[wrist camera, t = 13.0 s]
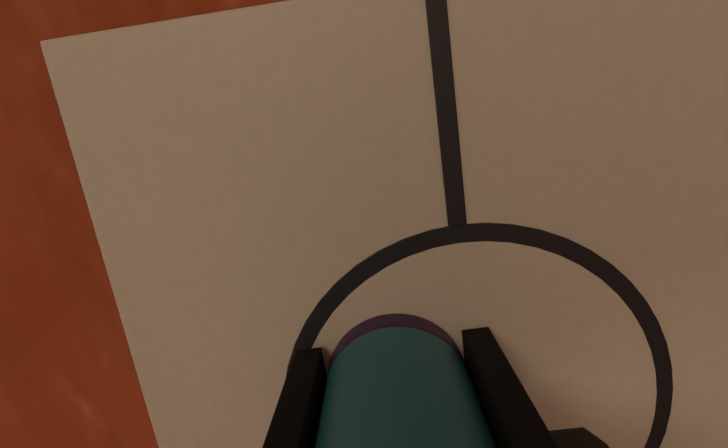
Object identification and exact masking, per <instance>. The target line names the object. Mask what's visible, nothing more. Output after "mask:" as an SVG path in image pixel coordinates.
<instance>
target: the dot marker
mask: <svg viewBox="0 0 728 448" xmlns="http://www.w3.org/2000/svg"><path fill="white" fill-rule="evenodd" d="M314 448H498V446H497V443H496V441H495V438H494V436H493V433H492V431H491V428H490V426H489V423H488V421H487V418H486V416H485V413H484V411H483V408H482V405H481V403H480V400H479V398H478V395H477V393H476V390H475V388H474V385H473V383H472V380H471V378H470V375H469V373H468V370H467V368H466V365H465V362H464V360H463V357H462V355H461V352H460V350H459V348H458V346H457V345H456V343H455V342H454V340H453V339H452V338H451V337H450V336H449V335H448V334H447V332H445V331H444V330H443V329H442V328H440V327H439V326H437V325H436V324H434V323H433V322H431V321H429V320H426V319H424V318H421V317H418V316H415V315H409V314H399V313H395V314H385V315H379V316H376V317H373V318H370V319H367V320H365V321H363V322H361V323H359V324H358V325H356V326H355V327H353V328H352V329H351V330H350V331H348V332H347V333H346V334H345V335H344V336H343V337H342V339H341V340H340V341H339V343H338V344H337V346H336V347H335V349H334V351H333V353H332V356H331V359H330V363H329V368H328V374H327V379H326V385H325V391H324V396H323V402H322V407H321V413H320V419H319V424H318V430H317V435H316V441H315V447H314Z"/></svg>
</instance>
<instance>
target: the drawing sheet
mask: <svg viewBox="0 0 728 448" xmlns="http://www.w3.org/2000/svg"><path fill="white" fill-rule="evenodd" d="M40 45H41V48H42V52H43V55H44V59H45V62H46V66H47V69H48V72H49V76H50V79H51V83H52V86H53V89H54V93H55V96H56V100H57V103H58V106H59V110H60V113H61V117H62V120H63V123H64V127H65V130H66V134H67V137H68V140H69V144H70V147H71V151H72V154H73V158H74V161H75V164H76V168H77V171H78V175H79V178H80V181H81V185H82V188H83V192H84V195H85V198H86V202H87V205H88V209H89V212H90V215H91V219H92V222H93V226H94V229H95V232H96V236H97V239H98V243H99V246H100V249H101V253H102V256H103V260H104V263H105V267H106V270H107V273H108V277H109V280H110V284H111V287H112V290H113V294H114V297H115V301H116V304H117V307H118V311H119V314H120V318H121V321H122V324H123V328H124V331H125V335H126V338H127V341H128V345H129V348H130V352H131V355H132V359H133V362H134V365H135V369H136V372H137V376H138V379H139V382H140V386H141V389H142V393H143V396H144V399H145V403H146V406H147V410H148V413H149V416H150V420H151V423H152V427H153V430H154V433H155V437H156V440H157V444H158V447H159V448H262V447H263V444H264V441H265V438H266V435H267V432H268V429H269V426H270V423H271V420H272V417H273V415H274V412H275V409H276V406H277V403H278V400H279V397H280V394H281V391H282V388H283V385H284V382H285V379H286V376H287V374H288V371H289V368H290V365H291V362H292V359H293V356H294V353H295V350H303V349H311V348H319V347H321V348H322V354H323V359H324V364H325V370H326V375H327V374H328V368H329V363H330V359H331V356H332V353H333V351H334V349H335V347H336V346H337V344H338V343H339V341H340V340H341V339H342V337H343V336H344V335H345V334H346V333H347V332H348V331H350V330H351V329H352V328H353V327H355V326H356V325H358V324H359V323H361V322H363V321H365V320H367V319H370V318H373V317H376V316H379V315H385V314H395V313H399V314H409V315H415V316H418V317H421V318H424V319H426V320H429V321H431V322H433V323H434V324H436V325H437V326H439V327H440V328H442V329H443V330H444V331H445V332H447V334H448V335H449V336H450V337H451V338H452V339H453V340H454V342H455V343H456V345H457V346H458V348H459V350H460V352H461V355H462V357H463V360H464V351H463V341H462V331H461V330H467V329H475V328H484V327H489V329H490V330H491V332H492V334H493V336H494V337H495V339H496V341H497V342H498V344H499V346H500V348H501V349H502V351H503V353H504V354H505V356H506V358H507V360H508V361H509V363H510V365H511V367H512V368H513V370H514V372H515V373H516V375H517V377H518V379H519V380H520V382H521V384H522V385H523V387H524V389H525V391H526V392H527V394H528V396H529V397H530V399H531V401H532V403H533V404H534V406H535V408H536V409H537V411H538V413H539V415H540V416H541V418H542V420H543V421H544V423H545V425H546V427H547V428H548V430H549V431H551V430H560V429H570V428H579V427H584V428H586V429H587V430H588V431H590V432H591V433H592V434H594V435H595V436H597V437H598V438H599V439H601V440H602V441H603V442H605V443H606V444H607V445H608V446H609V447H610V448H728V0H287V1H281V2H274V3H268V4H262V5H256V6H250V7H244V8H238V9H232V10H226V11H219V12H213V13H207V14H201V15H195V16H189V17H183V18H177V19H171V20H164V21H158V22H152V23H146V24H140V25H134V26H128V27H122V28H116V29H109V30H103V31H97V32H91V33H85V34H79V35H73V36H67V37H61V38H54V39H48V40H42V41H40ZM464 362H465V361H464Z"/></svg>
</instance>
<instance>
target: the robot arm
mask: <svg viewBox="0 0 728 448" xmlns="http://www.w3.org/2000/svg"><path fill="white" fill-rule="evenodd" d="M461 331H462V341H463V351H464V361H465V365H466V368H467V370H468V373H469V375H470V378H471V380H472V383H473V385H474V388H475V390H476V393H477V395H478V398H479V400H480V403H481V405H482V408H483V411H484V413H485V416H486V418H487V421H488V423H489V426H490V428H491V431H492V433H493V436H494V438H495V441H496V443H497V446H498V448H610V447H609V446H608V445H607V444H606V443H605V442H603V441H602V440H601V439H599V438H598V437H597V436H595V435H594V434H592V433H591V432H590V431H588V430H587V429H586V428H584V427H579V428H570V429H560V430H551V431H549V430H548V428H547V427H546V425H545V423H544V421H543V420H542V418H541V416H540V415H539V413H538V411H537V409H536V408H535V406H534V404H533V403H532V401H531V399H530V397H529V396H528V394H527V392H526V391H525V389H524V387H523V385H522V384H521V382H520V380H519V379H518V377H517V375H516V373H515V372H514V370H513V368H512V367H511V365H510V363H509V361H508V360H507V358H506V356H505V354H504V353H503V351H502V349H501V348H500V346H499V344H498V342H497V341H496V339H495V337H494V336H493V334H492V332H491V330H490V329H489V327H484V328H475V329H467V330H461ZM326 379H327V375H326V370H325V364H324V359H323V354H322V348H321V347H319V348H311V349H303V350H295V353H294V356H293V359H292V362H291V365H290V368H289V371H288V374H287V376H286V379H285V382H284V385H283V388H282V391H281V394H280V397H279V400H278V403H277V406H276V409H275V412H274V415H273V417H272V420H271V423H270V426H269V429H268V432H267V435H266V438H265V441H264V444H263V447H262V448H314V447H315V441H316V435H317V430H318V424H319V419H320V413H321V407H322V402H323V396H324V391H325V385H326Z"/></svg>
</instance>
